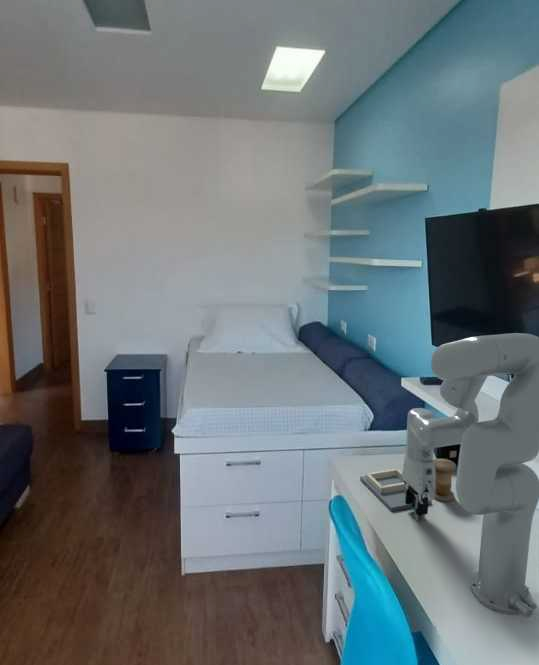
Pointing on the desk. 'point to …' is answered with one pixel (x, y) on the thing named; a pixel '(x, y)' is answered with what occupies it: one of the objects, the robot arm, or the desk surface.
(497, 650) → the desk surface
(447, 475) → the wooden cabinet knob
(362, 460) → the desk surface
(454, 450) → the cpu cooler
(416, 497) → the push button
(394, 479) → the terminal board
